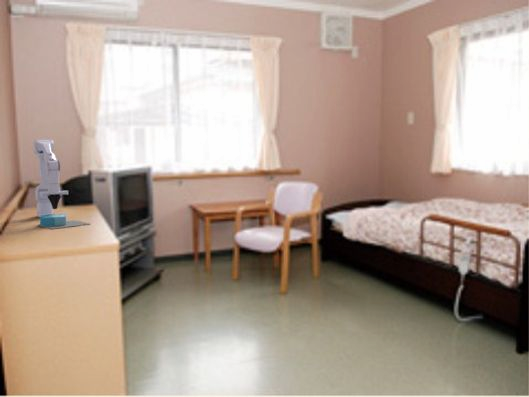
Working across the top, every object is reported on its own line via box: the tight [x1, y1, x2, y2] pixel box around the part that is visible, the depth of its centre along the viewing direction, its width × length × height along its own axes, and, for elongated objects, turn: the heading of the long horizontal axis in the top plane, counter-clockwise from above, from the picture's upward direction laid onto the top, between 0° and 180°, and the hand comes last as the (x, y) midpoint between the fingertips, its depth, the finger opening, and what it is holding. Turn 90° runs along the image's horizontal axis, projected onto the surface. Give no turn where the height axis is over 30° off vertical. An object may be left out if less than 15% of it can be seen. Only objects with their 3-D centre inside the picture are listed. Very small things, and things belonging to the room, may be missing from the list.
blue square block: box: [39, 213, 67, 228], centre depth 240 cm, size 12×4×12 cm
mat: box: [37, 219, 91, 230], centre depth 241 cm, size 16×20×1 cm
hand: (54, 208), depth 246 cm, fingers closed
